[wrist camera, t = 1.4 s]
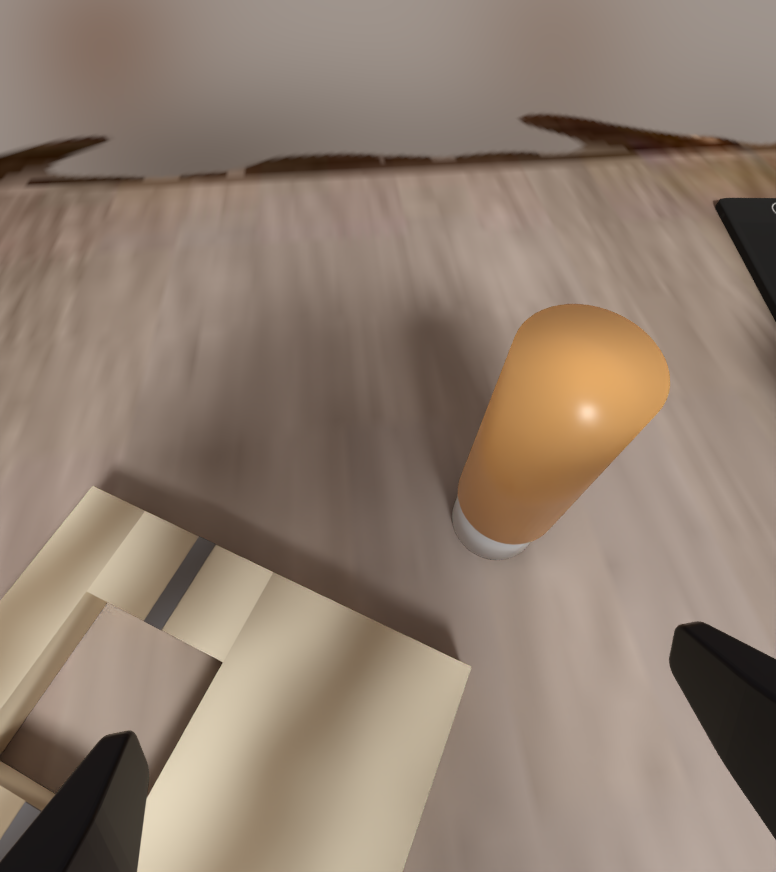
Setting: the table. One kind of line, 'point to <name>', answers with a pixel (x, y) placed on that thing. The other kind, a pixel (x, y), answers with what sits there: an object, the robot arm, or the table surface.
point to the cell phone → (754, 239)
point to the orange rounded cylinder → (555, 423)
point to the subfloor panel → (239, 701)
